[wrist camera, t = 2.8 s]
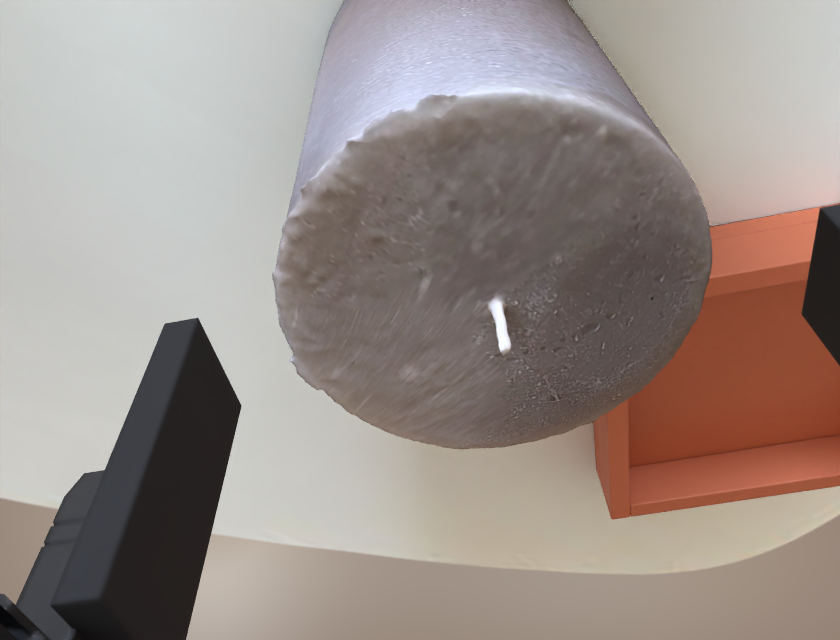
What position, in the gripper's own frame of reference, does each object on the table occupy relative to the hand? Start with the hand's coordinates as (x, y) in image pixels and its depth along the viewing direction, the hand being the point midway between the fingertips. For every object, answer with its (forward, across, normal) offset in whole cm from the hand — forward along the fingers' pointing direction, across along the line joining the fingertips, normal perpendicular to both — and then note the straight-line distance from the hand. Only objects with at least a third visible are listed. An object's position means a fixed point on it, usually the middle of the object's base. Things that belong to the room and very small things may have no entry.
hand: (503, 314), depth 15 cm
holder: (+14, +12, -16) cm, 24 cm away
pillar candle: (+14, 0, 0) cm, 14 cm away
